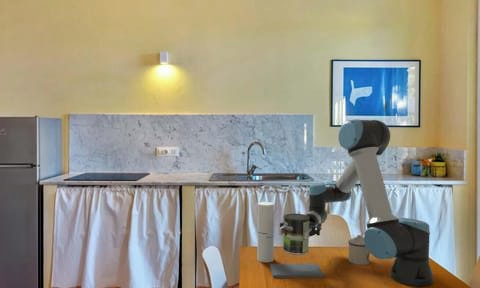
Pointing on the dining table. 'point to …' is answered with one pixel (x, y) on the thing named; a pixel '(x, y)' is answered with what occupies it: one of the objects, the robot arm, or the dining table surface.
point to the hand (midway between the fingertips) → (292, 233)
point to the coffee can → (295, 234)
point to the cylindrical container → (265, 232)
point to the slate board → (296, 271)
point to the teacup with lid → (358, 251)
